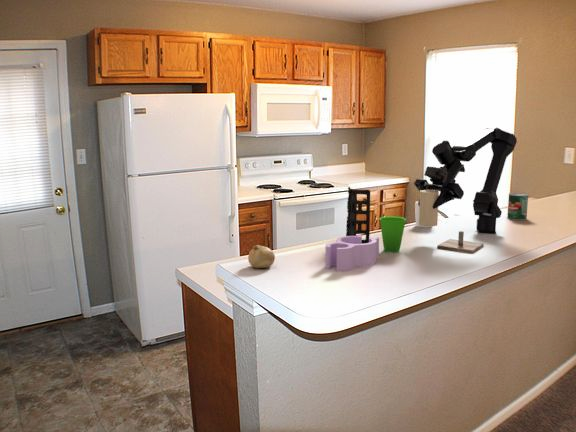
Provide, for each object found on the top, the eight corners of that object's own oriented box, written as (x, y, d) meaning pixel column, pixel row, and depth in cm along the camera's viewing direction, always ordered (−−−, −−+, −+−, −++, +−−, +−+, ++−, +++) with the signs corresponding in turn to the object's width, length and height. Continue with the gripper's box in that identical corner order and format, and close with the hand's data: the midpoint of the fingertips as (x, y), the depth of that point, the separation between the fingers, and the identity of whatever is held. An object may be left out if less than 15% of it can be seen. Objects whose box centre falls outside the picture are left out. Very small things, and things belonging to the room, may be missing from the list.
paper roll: (427, 222, 186) (428, 189, 184) (440, 224, 181) (442, 191, 179) (415, 224, 183) (416, 190, 181) (428, 227, 178) (429, 192, 176)
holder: (375, 244, 182) (377, 188, 179) (363, 248, 177) (364, 190, 173) (350, 239, 190) (351, 186, 186) (338, 243, 184) (338, 188, 181)
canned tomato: (527, 218, 228) (529, 193, 226) (525, 220, 222) (527, 195, 220) (508, 216, 233) (510, 192, 231) (505, 219, 226) (507, 194, 224)
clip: (349, 274, 147) (349, 251, 146) (315, 266, 155) (315, 244, 154) (385, 260, 162) (386, 238, 161) (352, 253, 170) (352, 233, 169)
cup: (406, 248, 176) (407, 217, 174) (403, 255, 167) (404, 222, 165) (380, 246, 179) (381, 215, 177) (376, 252, 170) (377, 220, 168)
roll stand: (449, 241, 185) (450, 226, 184) (483, 246, 178) (484, 230, 177) (437, 248, 176) (437, 232, 175) (472, 253, 169) (473, 237, 168)
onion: (261, 262, 161) (260, 240, 159) (280, 266, 156) (280, 243, 154) (243, 267, 154) (242, 245, 153) (262, 272, 149) (262, 249, 148)
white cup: (432, 224, 216) (433, 201, 215) (435, 228, 209) (436, 204, 207) (413, 224, 217) (413, 200, 215) (415, 227, 209) (416, 203, 208)
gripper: (418, 156, 188) (395, 189, 184) (460, 159, 172) (436, 195, 168) (432, 176, 193) (410, 208, 189) (473, 181, 178) (451, 216, 174)
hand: (426, 206), depth 180 cm, fingers closed on paper roll, 6 cm apart
